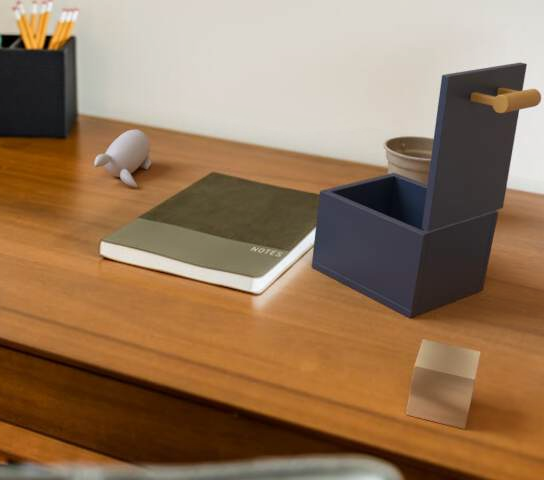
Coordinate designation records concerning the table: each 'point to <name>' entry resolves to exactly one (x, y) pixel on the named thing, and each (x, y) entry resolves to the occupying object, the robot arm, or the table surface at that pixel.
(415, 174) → the flower pot
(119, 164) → the grey animal figurine
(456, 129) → the lid
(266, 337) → the table surface
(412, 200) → the chest
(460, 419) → the block
